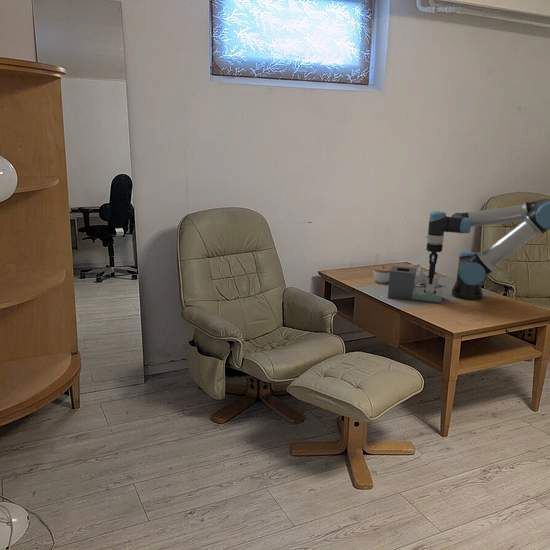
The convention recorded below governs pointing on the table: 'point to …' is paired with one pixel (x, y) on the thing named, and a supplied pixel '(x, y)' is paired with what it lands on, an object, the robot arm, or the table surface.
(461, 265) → the robot arm
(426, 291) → the plug
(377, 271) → the lidded jar
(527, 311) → the table surface
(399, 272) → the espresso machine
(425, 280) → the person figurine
